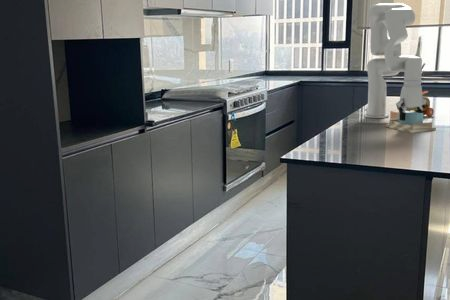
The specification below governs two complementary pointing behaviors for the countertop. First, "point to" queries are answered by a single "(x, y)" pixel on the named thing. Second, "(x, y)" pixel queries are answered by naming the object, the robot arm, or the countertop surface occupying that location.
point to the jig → (410, 126)
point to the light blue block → (412, 118)
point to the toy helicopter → (426, 109)
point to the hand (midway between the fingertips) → (410, 119)
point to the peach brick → (394, 114)
